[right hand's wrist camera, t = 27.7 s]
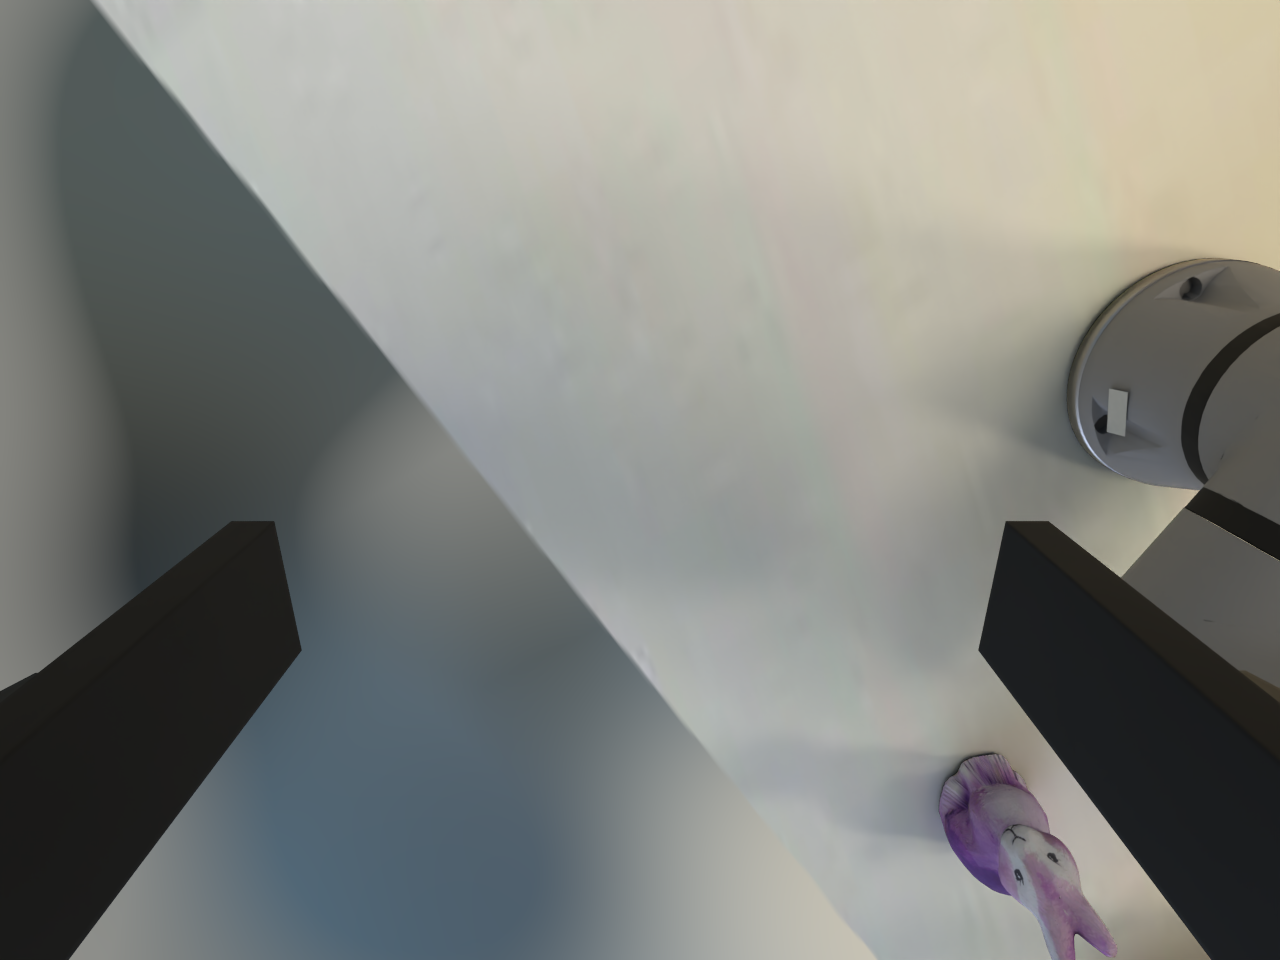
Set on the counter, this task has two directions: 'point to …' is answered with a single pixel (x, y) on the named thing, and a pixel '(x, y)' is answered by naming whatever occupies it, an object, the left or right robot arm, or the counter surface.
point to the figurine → (1019, 852)
